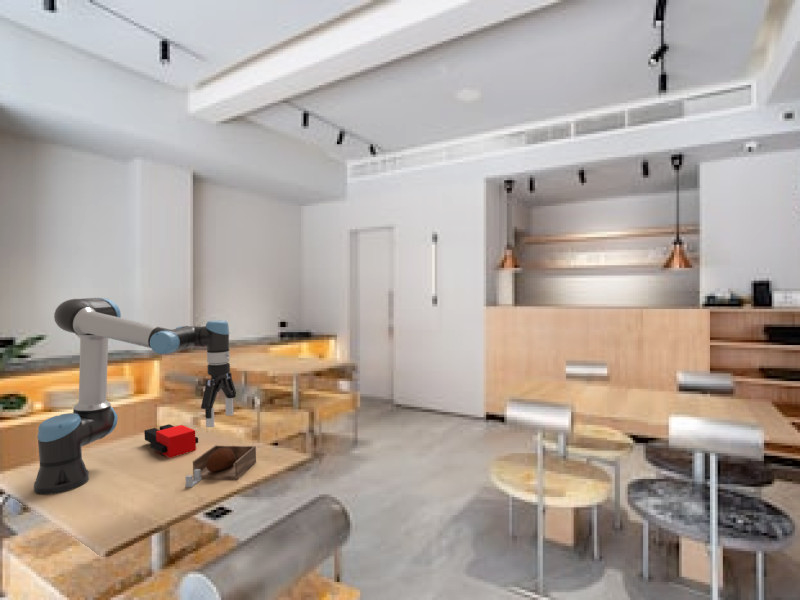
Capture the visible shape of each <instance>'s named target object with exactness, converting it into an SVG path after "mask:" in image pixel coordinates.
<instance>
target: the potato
mask: <svg viewBox="0 0 800 600" xmlns="http://www.w3.org/2000/svg"><path fill="white" fill-rule="evenodd" d="M235 461H236V457H235V455H234V453H233V451H231V450H230V449H229V448H219V449H217V450H216V451H214V452H213V453H212V454H211V455H210V456H209V458H208V460H207V463H206V466H207V469H208V470H209V471H210V472H216V471H220V470H224V469H226V468H229V467H230V466H232V465H233V464H234V463H235Z"/></svg>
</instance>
